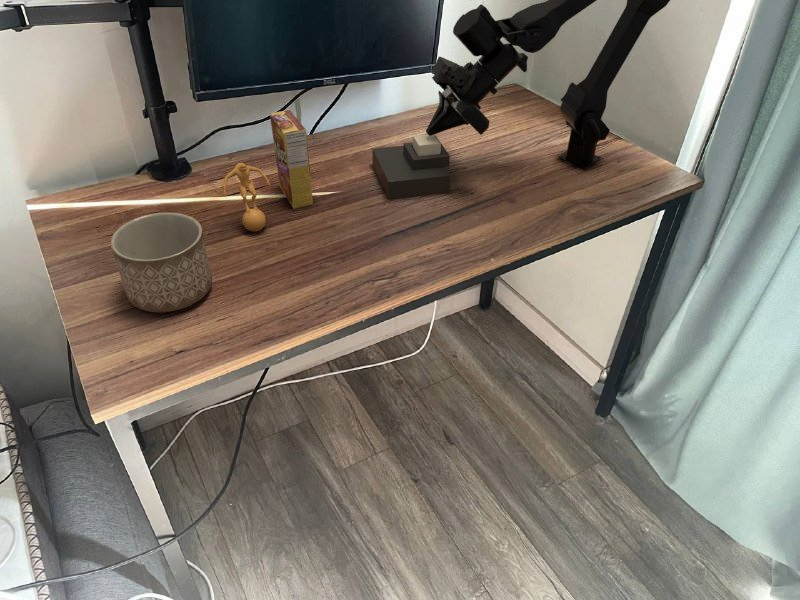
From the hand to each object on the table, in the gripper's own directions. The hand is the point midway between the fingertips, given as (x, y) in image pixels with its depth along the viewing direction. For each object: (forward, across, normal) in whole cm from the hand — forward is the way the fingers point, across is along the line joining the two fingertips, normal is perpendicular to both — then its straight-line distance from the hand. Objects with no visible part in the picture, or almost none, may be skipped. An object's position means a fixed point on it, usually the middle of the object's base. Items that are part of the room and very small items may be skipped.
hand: (427, 133), depth 126 cm
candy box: (+25, +2, -12) cm, 28 cm away
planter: (+41, +27, -28) cm, 56 cm away
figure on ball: (+31, +11, -18) cm, 38 cm away
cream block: (+3, 0, +3) cm, 4 cm away
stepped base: (+9, 0, +4) cm, 10 cm away
